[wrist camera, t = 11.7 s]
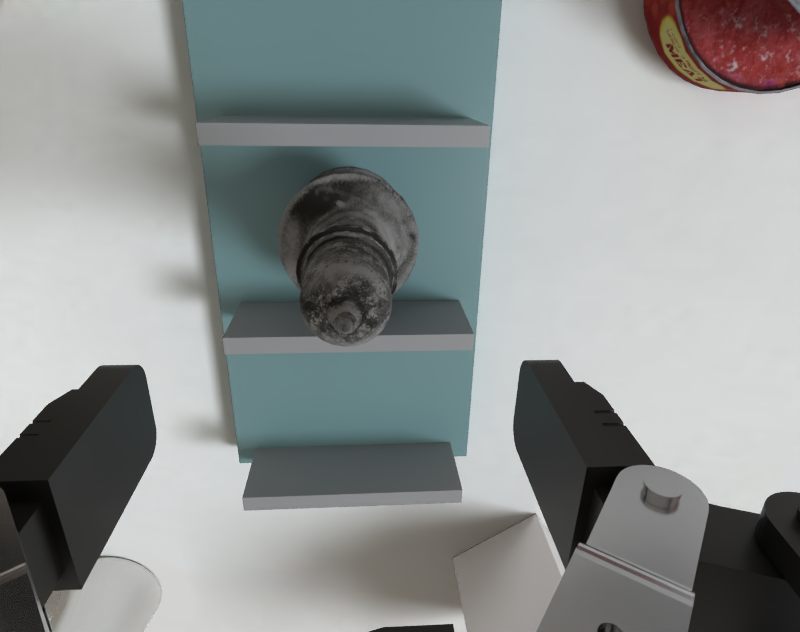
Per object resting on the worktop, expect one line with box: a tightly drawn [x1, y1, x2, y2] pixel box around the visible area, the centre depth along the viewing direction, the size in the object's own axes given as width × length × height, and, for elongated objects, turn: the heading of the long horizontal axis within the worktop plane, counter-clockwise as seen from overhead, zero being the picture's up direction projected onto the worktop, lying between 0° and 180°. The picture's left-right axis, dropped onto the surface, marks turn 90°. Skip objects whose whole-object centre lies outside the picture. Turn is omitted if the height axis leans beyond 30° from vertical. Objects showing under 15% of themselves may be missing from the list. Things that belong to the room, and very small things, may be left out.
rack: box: [182, 0, 502, 510], centre depth 25 cm, size 28×13×6 cm, turn 179°
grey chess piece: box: [277, 167, 419, 347], centre depth 21 cm, size 6×6×12 cm
